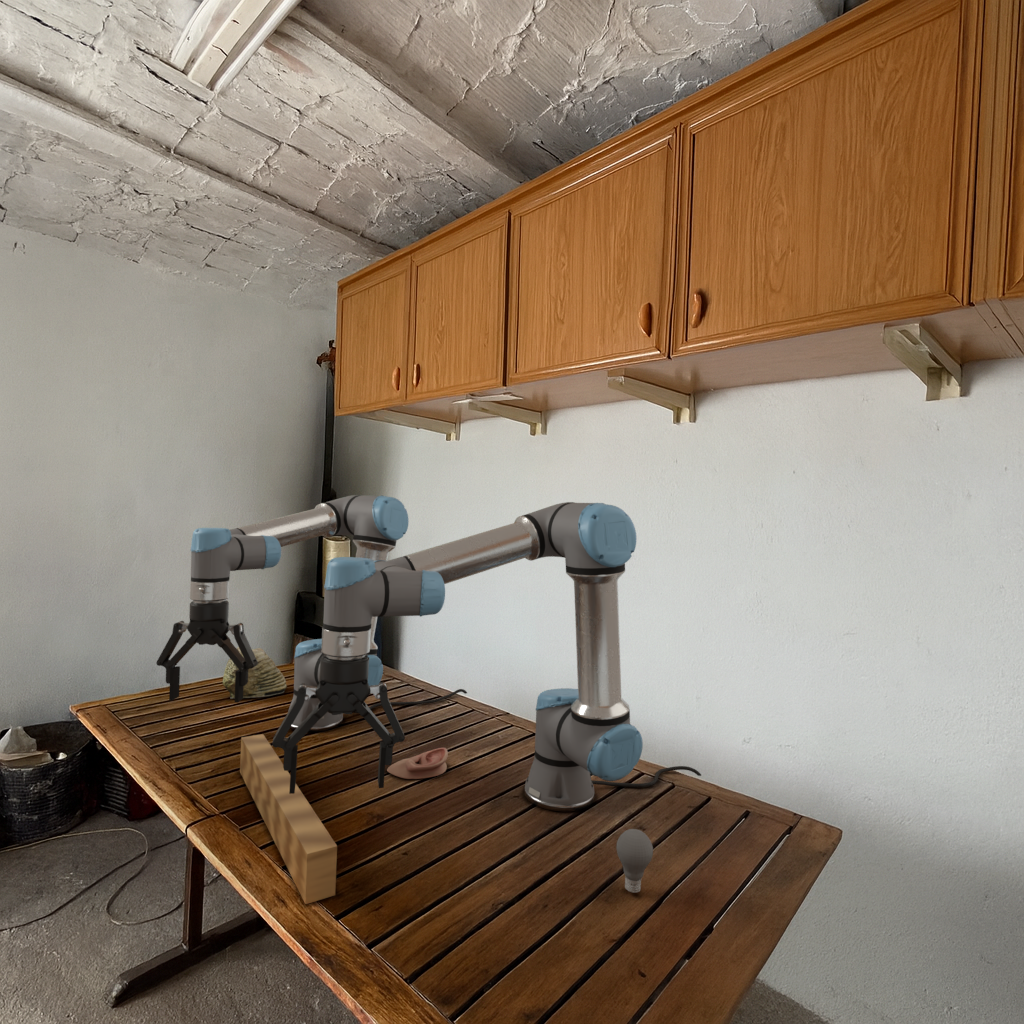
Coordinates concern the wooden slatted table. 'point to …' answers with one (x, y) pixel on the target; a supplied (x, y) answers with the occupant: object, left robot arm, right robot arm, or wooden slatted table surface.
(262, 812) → the bar
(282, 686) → the fossil
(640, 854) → the light bulb
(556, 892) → the wooden slatted table surface
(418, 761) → the anatomical model
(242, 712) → the wooden slatted table surface
